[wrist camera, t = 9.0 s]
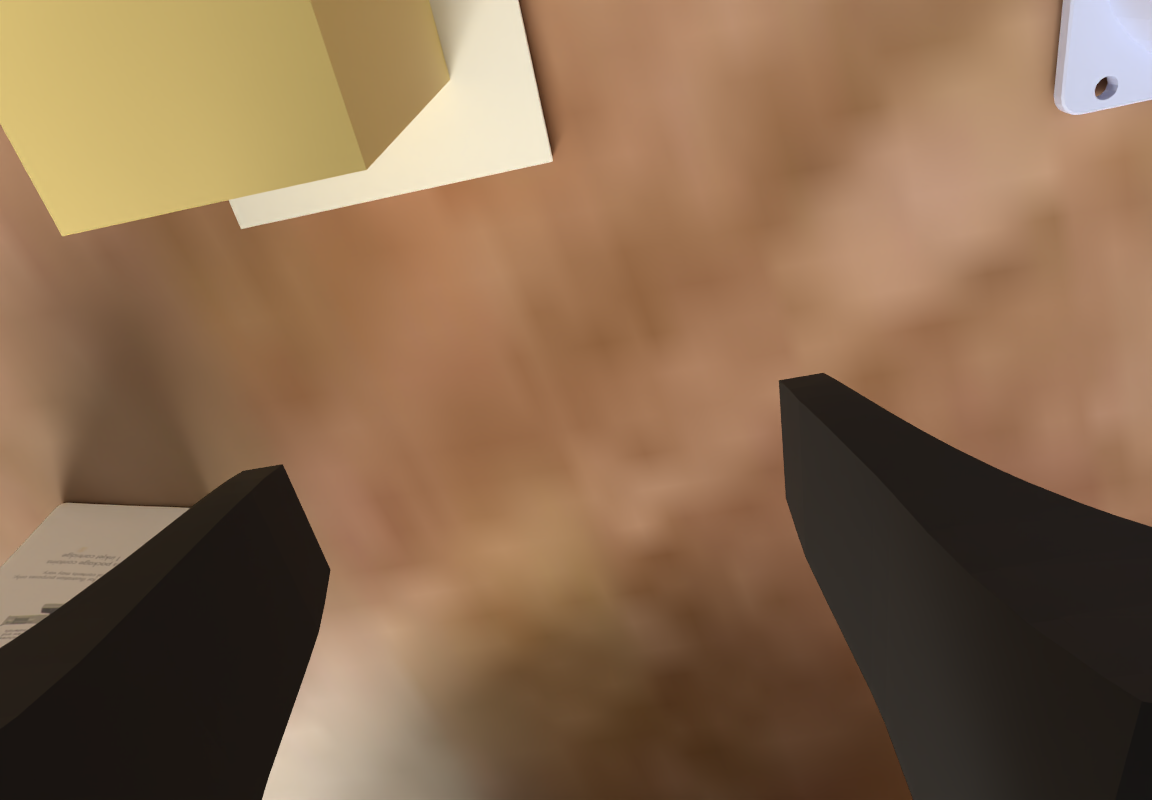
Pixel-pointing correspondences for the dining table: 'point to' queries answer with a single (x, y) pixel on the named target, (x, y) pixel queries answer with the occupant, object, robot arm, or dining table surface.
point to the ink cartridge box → (71, 557)
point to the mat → (442, 121)
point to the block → (205, 97)
